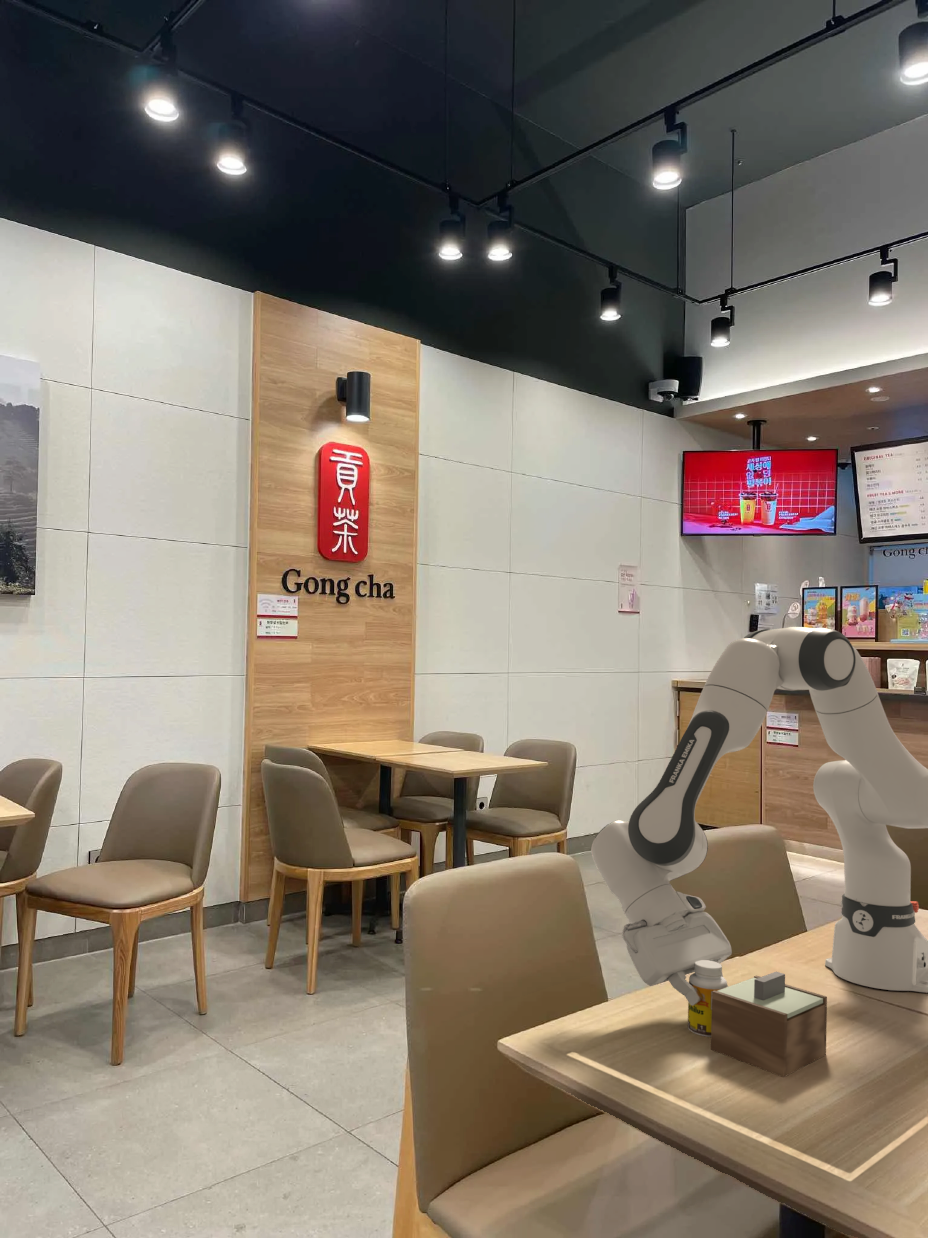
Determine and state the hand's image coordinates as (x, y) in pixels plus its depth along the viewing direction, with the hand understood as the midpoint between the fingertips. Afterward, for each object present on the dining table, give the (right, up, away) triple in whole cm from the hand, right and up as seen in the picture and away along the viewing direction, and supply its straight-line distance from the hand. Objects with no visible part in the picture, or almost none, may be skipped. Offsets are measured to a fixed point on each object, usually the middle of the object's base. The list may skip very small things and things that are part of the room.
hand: (711, 998), depth 135 cm
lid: (+6, +3, -7) cm, 10 cm away
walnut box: (+6, -5, -7) cm, 11 cm away
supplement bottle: (-1, -6, 0) cm, 6 cm away
